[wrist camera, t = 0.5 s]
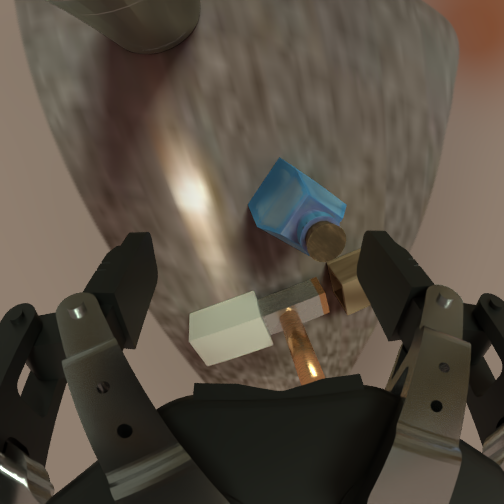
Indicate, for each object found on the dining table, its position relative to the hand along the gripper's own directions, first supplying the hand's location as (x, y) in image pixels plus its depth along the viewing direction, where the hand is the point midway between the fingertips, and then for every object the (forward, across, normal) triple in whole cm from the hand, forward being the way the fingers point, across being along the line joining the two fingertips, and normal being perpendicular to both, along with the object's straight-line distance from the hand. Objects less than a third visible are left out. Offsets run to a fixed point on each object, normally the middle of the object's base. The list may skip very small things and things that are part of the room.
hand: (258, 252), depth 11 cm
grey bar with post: (+19, -2, +20) cm, 28 cm away
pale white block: (+19, +2, +22) cm, 29 cm away
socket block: (+21, -14, +16) cm, 30 cm away
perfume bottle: (+21, -4, +6) cm, 22 cm away
